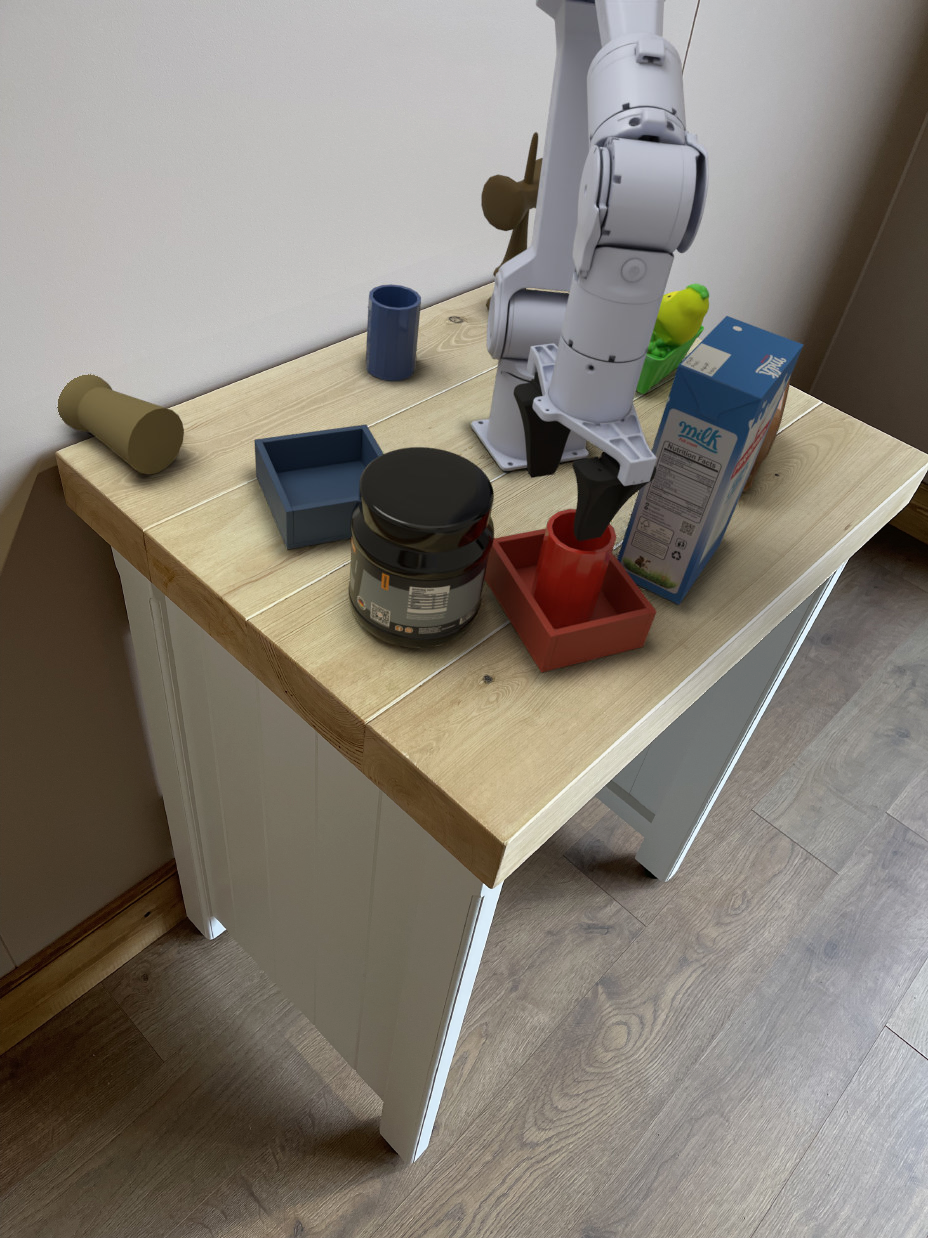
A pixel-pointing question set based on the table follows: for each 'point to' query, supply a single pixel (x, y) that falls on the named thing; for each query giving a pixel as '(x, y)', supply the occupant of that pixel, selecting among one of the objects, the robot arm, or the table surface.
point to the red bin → (608, 632)
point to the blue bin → (314, 481)
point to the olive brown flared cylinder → (123, 423)
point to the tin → (768, 439)
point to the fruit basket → (673, 333)
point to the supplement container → (420, 546)
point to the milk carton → (705, 453)
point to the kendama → (513, 204)
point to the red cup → (570, 571)
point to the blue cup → (392, 332)
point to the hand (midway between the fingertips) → (563, 503)
